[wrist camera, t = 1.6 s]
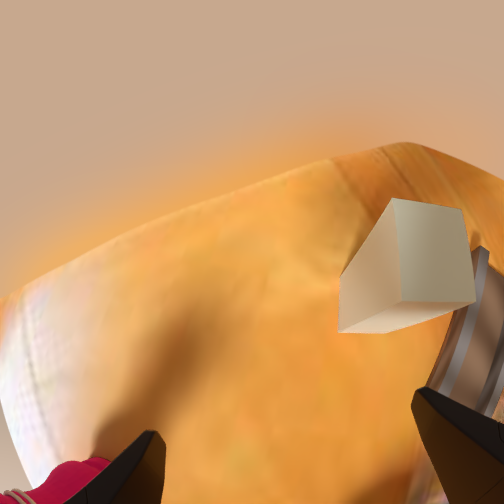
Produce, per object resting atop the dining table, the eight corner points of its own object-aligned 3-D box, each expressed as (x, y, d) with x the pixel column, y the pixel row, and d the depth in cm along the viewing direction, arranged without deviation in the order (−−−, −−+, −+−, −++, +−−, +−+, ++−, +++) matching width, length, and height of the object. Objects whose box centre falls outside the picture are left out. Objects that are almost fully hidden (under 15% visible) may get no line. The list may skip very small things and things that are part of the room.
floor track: (475, 419, 16) (489, 421, 14) (420, 395, 19) (434, 397, 16) (513, 289, 20) (526, 283, 18) (467, 254, 23) (480, 245, 21)
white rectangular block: (384, 333, 21) (476, 301, 9) (337, 332, 22) (401, 300, 10) (384, 279, 23) (461, 209, 11) (339, 277, 24) (391, 197, 12)
